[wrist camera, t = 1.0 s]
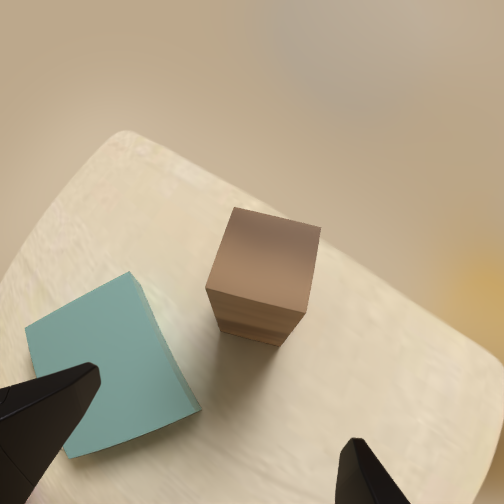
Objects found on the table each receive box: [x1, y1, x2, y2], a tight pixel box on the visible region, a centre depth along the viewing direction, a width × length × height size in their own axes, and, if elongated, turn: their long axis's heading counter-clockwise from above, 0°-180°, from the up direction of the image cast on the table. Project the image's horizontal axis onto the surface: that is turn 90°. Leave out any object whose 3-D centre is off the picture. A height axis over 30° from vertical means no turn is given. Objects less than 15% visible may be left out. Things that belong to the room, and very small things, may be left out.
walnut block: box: [205, 207, 321, 346], centre depth 19 cm, size 5×5×10 cm
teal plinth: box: [25, 271, 202, 459], centre depth 19 cm, size 12×12×3 cm
